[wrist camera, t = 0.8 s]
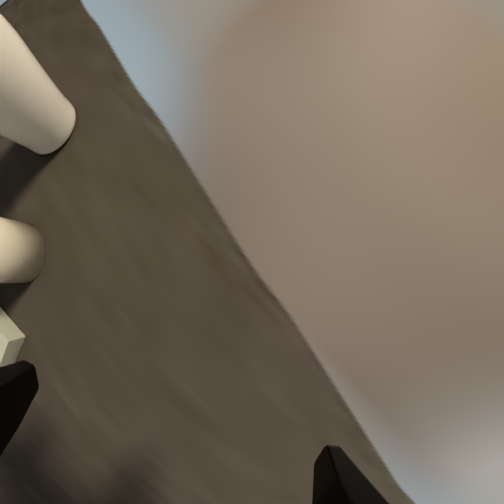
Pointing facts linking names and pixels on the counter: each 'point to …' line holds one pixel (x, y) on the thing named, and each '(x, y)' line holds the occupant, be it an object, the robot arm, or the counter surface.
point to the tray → (9, 340)
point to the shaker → (20, 251)
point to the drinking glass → (30, 98)
